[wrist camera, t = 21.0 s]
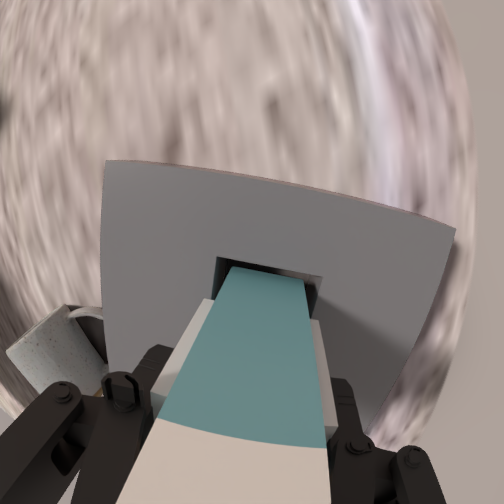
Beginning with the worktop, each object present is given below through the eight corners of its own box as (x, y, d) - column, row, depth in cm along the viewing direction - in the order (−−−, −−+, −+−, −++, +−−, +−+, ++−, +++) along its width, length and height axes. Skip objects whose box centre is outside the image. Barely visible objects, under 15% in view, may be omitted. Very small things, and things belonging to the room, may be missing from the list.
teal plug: (287, 339, 17) (278, 577, 4) (223, 326, 17) (139, 551, 4) (303, 279, 16) (333, 558, 2) (232, 265, 16) (107, 519, 3)
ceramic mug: (86, 381, 25) (50, 426, 17) (41, 319, 23) (-6, 355, 16) (151, 357, 23) (113, 417, 15) (96, 277, 21) (36, 319, 14)
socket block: (341, 425, 23) (346, 457, 19) (134, 384, 24) (117, 412, 20) (426, 216, 17) (456, 228, 13) (137, 160, 18) (105, 160, 14)
